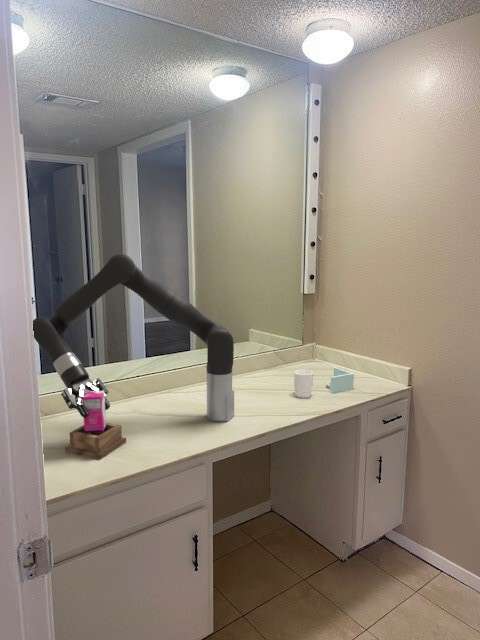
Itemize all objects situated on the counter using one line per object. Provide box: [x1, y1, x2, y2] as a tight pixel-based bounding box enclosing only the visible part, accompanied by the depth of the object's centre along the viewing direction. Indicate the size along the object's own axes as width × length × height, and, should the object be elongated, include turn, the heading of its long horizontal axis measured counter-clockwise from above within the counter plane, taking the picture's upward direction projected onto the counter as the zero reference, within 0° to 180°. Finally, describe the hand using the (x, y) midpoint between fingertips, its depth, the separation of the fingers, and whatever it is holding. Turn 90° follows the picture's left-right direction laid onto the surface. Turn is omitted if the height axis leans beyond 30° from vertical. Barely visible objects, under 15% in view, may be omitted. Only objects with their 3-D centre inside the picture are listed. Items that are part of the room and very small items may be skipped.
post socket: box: [64, 422, 127, 460], centre depth 151 cm, size 13×13×6 cm
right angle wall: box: [325, 366, 355, 394], centre depth 213 cm, size 12×12×8 cm
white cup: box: [293, 369, 314, 399], centre depth 202 cm, size 8×8×10 cm
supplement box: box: [82, 391, 107, 432], centre depth 150 cm, size 6×6×12 cm
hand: (97, 412), depth 149 cm, fingers closed on supplement box, 8 cm apart
